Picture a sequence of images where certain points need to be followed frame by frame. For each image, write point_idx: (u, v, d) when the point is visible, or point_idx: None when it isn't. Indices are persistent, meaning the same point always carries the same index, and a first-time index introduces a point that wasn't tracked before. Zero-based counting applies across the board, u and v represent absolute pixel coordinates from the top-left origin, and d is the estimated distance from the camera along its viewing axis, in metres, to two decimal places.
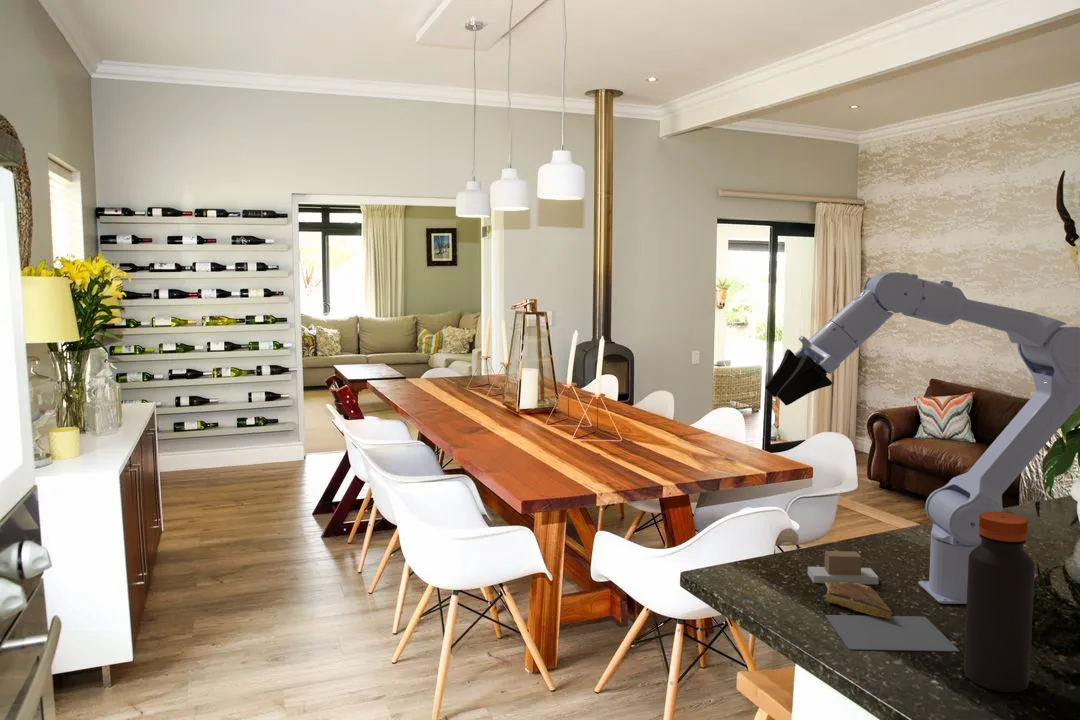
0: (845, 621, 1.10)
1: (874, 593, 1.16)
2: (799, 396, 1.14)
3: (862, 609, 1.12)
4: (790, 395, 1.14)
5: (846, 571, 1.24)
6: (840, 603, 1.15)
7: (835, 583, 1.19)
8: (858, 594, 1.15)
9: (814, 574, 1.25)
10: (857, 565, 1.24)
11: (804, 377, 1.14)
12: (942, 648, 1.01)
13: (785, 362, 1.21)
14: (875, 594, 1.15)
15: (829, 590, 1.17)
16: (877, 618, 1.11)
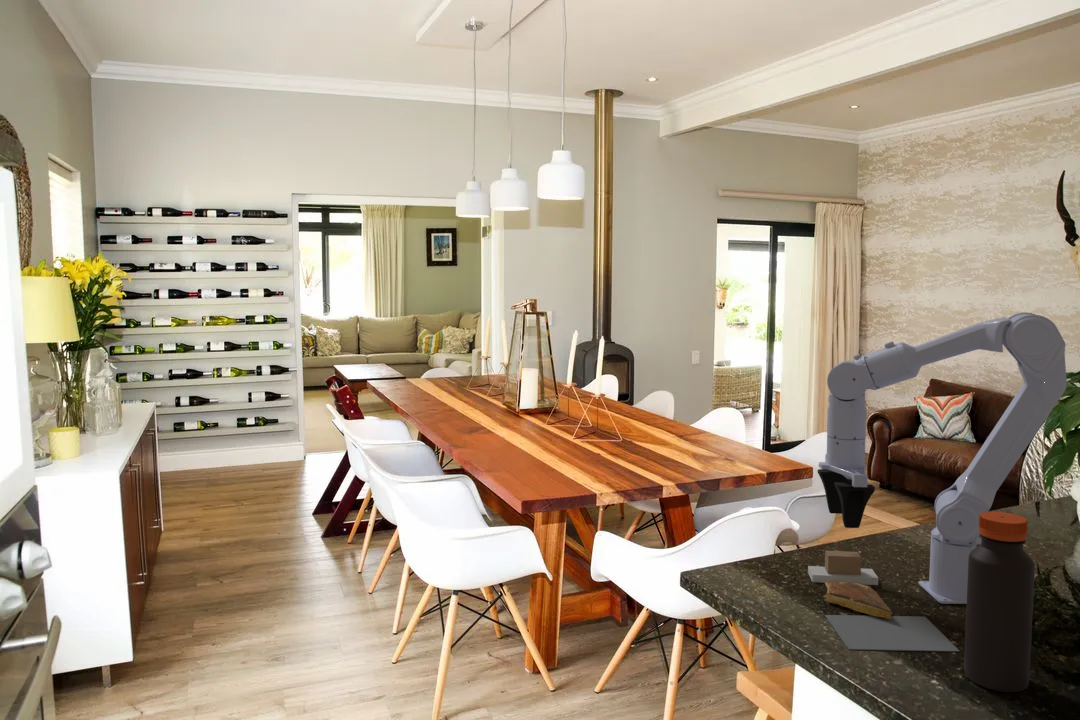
0: (845, 621, 1.10)
1: (874, 593, 1.16)
2: (861, 514, 1.20)
3: (862, 609, 1.12)
4: (854, 519, 1.21)
5: (845, 571, 1.24)
6: (840, 603, 1.15)
7: (835, 583, 1.19)
8: (858, 594, 1.15)
9: (813, 573, 1.25)
10: (857, 565, 1.24)
11: (851, 498, 1.20)
12: (942, 648, 1.01)
13: (825, 483, 1.28)
14: (875, 594, 1.15)
15: (829, 590, 1.17)
16: (877, 618, 1.11)
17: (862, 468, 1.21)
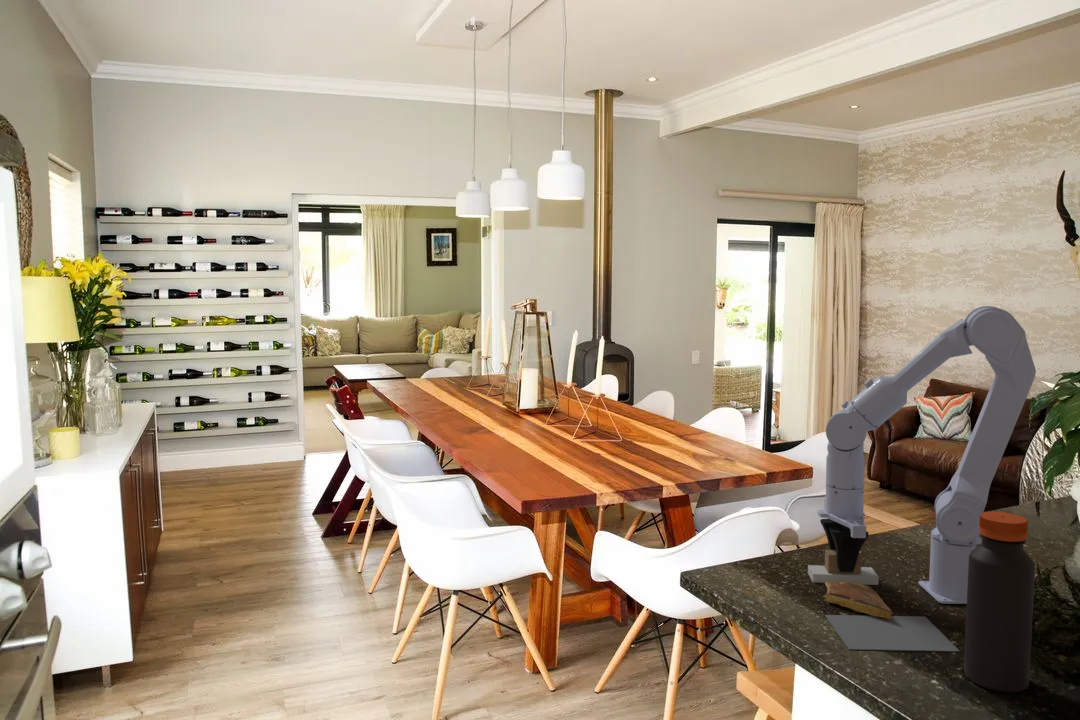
0: (845, 621, 1.10)
1: (874, 593, 1.16)
2: (855, 558, 1.23)
3: (862, 609, 1.12)
4: (848, 563, 1.23)
5: None
6: (840, 603, 1.15)
7: (835, 583, 1.19)
8: (858, 594, 1.15)
9: (813, 572, 1.25)
10: (857, 564, 1.24)
11: (845, 543, 1.23)
12: (942, 648, 1.01)
13: (829, 534, 1.27)
14: (875, 594, 1.15)
15: (829, 590, 1.17)
16: (877, 618, 1.11)
17: (861, 517, 1.22)
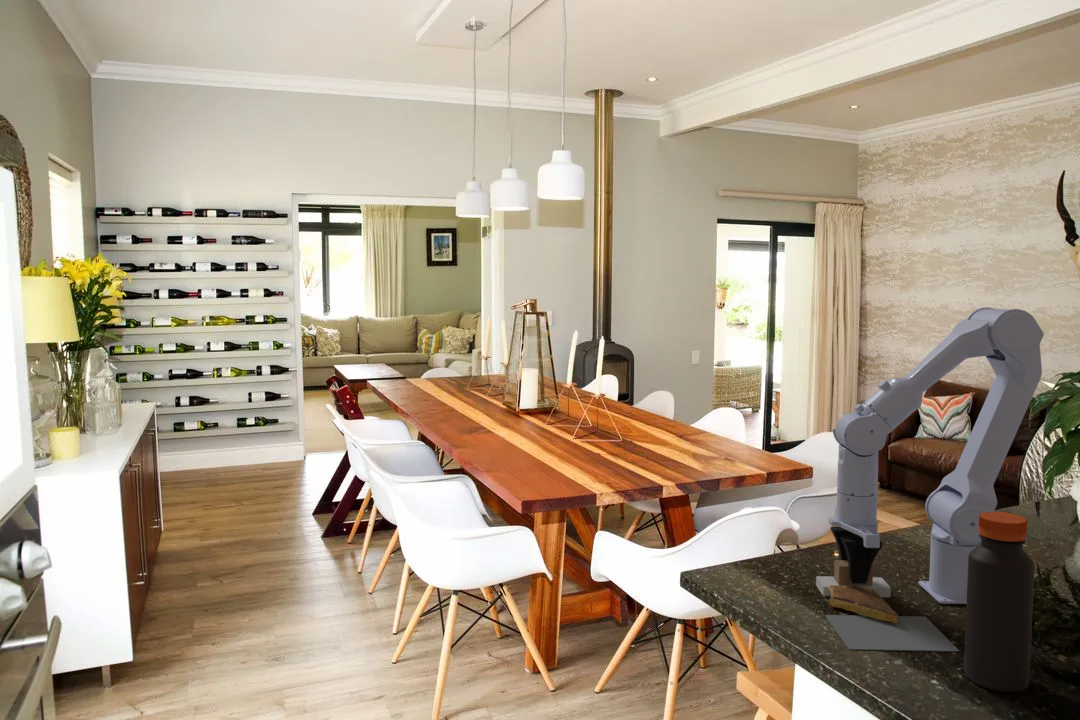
0: (845, 621, 1.10)
1: (878, 596, 1.14)
2: (868, 569, 1.17)
3: (868, 613, 1.11)
4: (861, 574, 1.18)
5: None
6: (844, 607, 1.14)
7: (838, 587, 1.18)
8: (862, 598, 1.14)
9: (823, 585, 1.19)
10: None
11: (858, 553, 1.17)
12: (942, 648, 1.01)
13: (839, 542, 1.21)
14: (879, 597, 1.14)
15: (833, 594, 1.16)
16: None
17: (874, 526, 1.16)
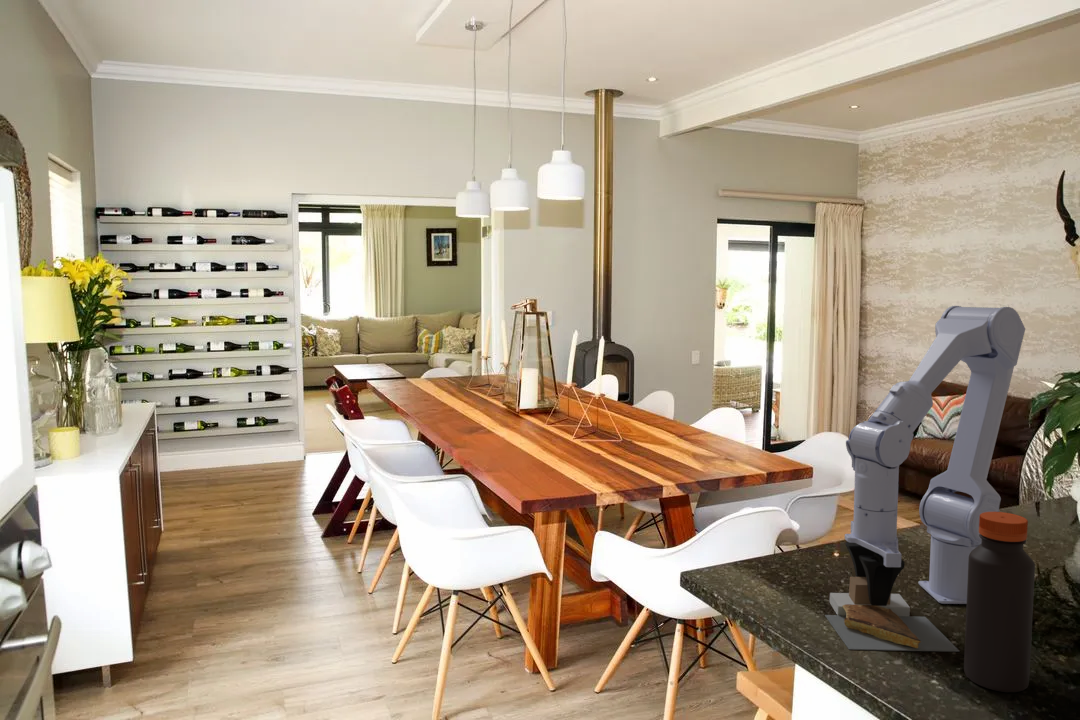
0: None
1: (897, 617, 1.07)
2: (889, 591, 1.09)
3: (886, 636, 1.04)
4: (881, 596, 1.09)
5: None
6: (861, 629, 1.06)
7: (853, 606, 1.11)
8: (879, 620, 1.06)
9: (838, 604, 1.12)
10: None
11: (878, 573, 1.09)
12: (942, 648, 1.01)
13: (855, 559, 1.14)
14: (898, 619, 1.07)
15: (848, 615, 1.08)
16: None
17: (894, 543, 1.09)
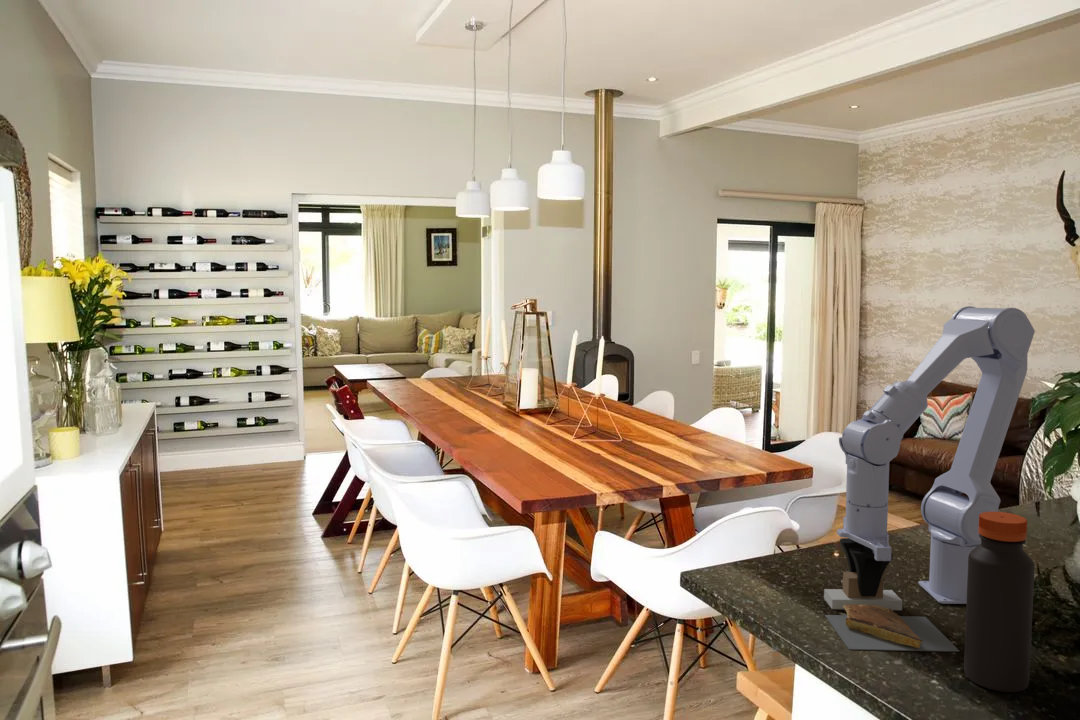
0: None
1: (897, 617, 1.07)
2: (878, 582, 1.13)
3: (887, 636, 1.04)
4: (870, 587, 1.14)
5: None
6: (862, 629, 1.06)
7: (854, 606, 1.11)
8: (881, 619, 1.06)
9: (832, 598, 1.15)
10: (879, 587, 1.14)
11: (867, 565, 1.13)
12: (942, 648, 1.01)
13: (849, 555, 1.17)
14: (899, 619, 1.07)
15: (849, 615, 1.08)
16: None
17: (885, 537, 1.12)
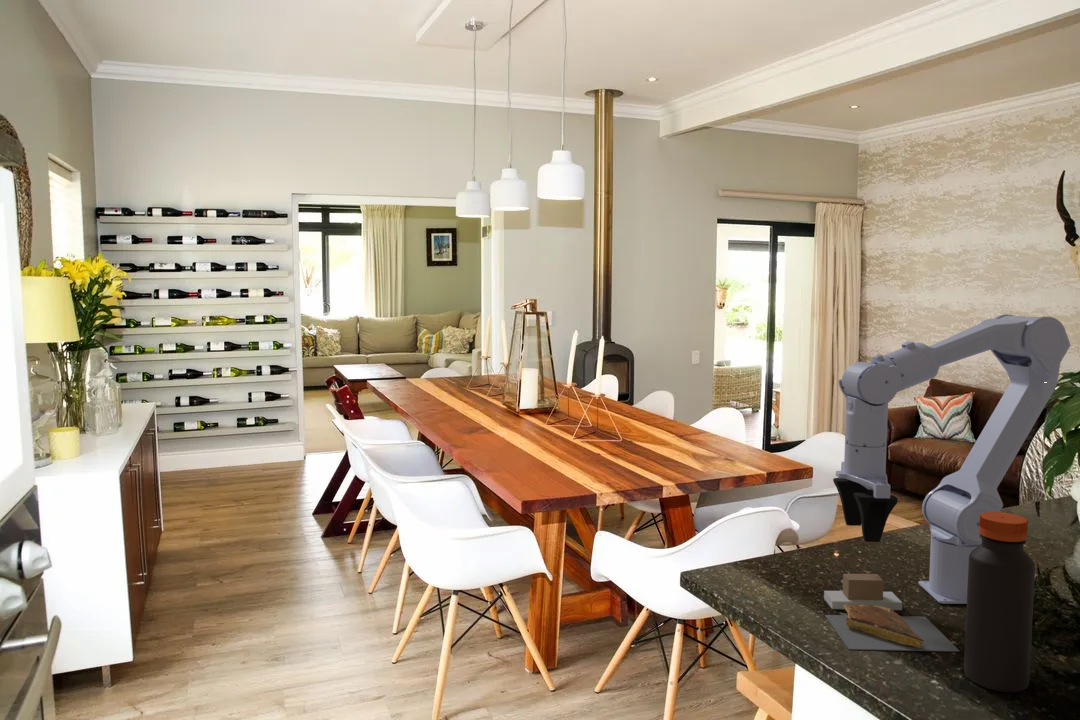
0: (845, 621, 1.10)
1: (898, 617, 1.07)
2: (882, 527, 1.12)
3: (888, 636, 1.04)
4: (875, 532, 1.12)
5: (867, 596, 1.15)
6: (863, 629, 1.06)
7: (855, 606, 1.11)
8: (881, 619, 1.06)
9: (832, 599, 1.15)
10: (879, 589, 1.14)
11: (871, 510, 1.12)
12: (942, 648, 1.01)
13: (842, 493, 1.20)
14: (899, 618, 1.07)
15: (850, 615, 1.08)
16: None
17: (883, 477, 1.13)
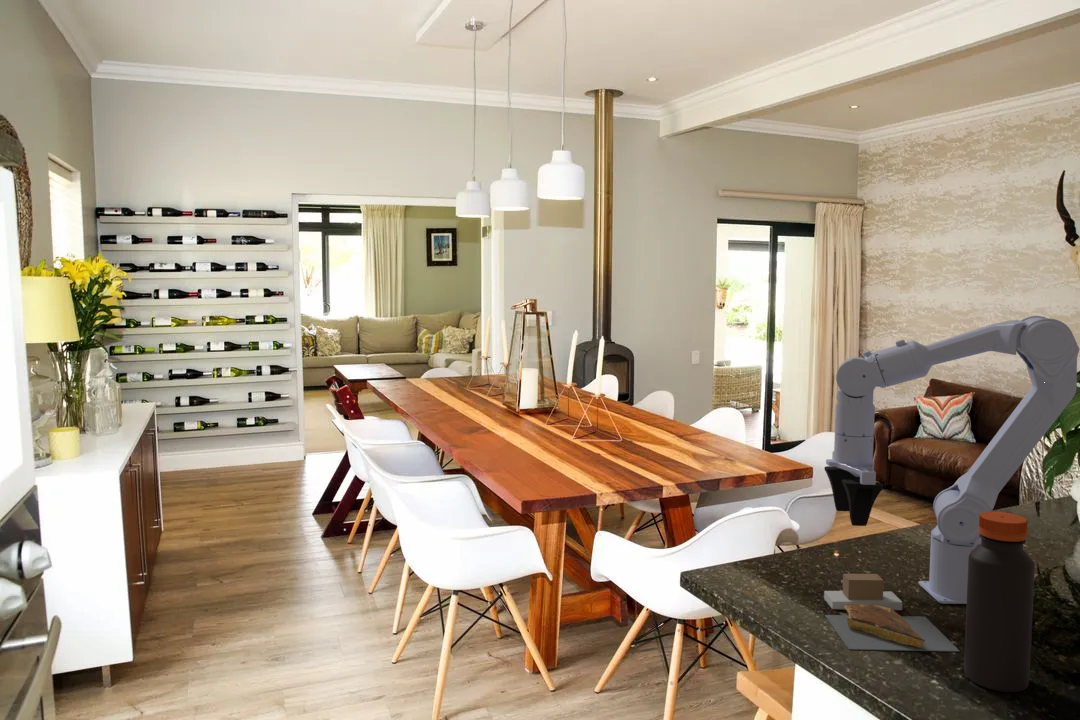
0: (845, 621, 1.10)
1: (899, 617, 1.07)
2: (868, 512, 1.19)
3: (889, 636, 1.04)
4: (861, 516, 1.20)
5: (867, 596, 1.15)
6: (864, 629, 1.06)
7: (855, 606, 1.11)
8: (882, 619, 1.06)
9: (832, 600, 1.15)
10: (879, 589, 1.14)
11: (858, 496, 1.19)
12: (942, 648, 1.01)
13: (832, 481, 1.27)
14: (900, 618, 1.07)
15: (851, 615, 1.08)
16: None
17: (870, 465, 1.20)
